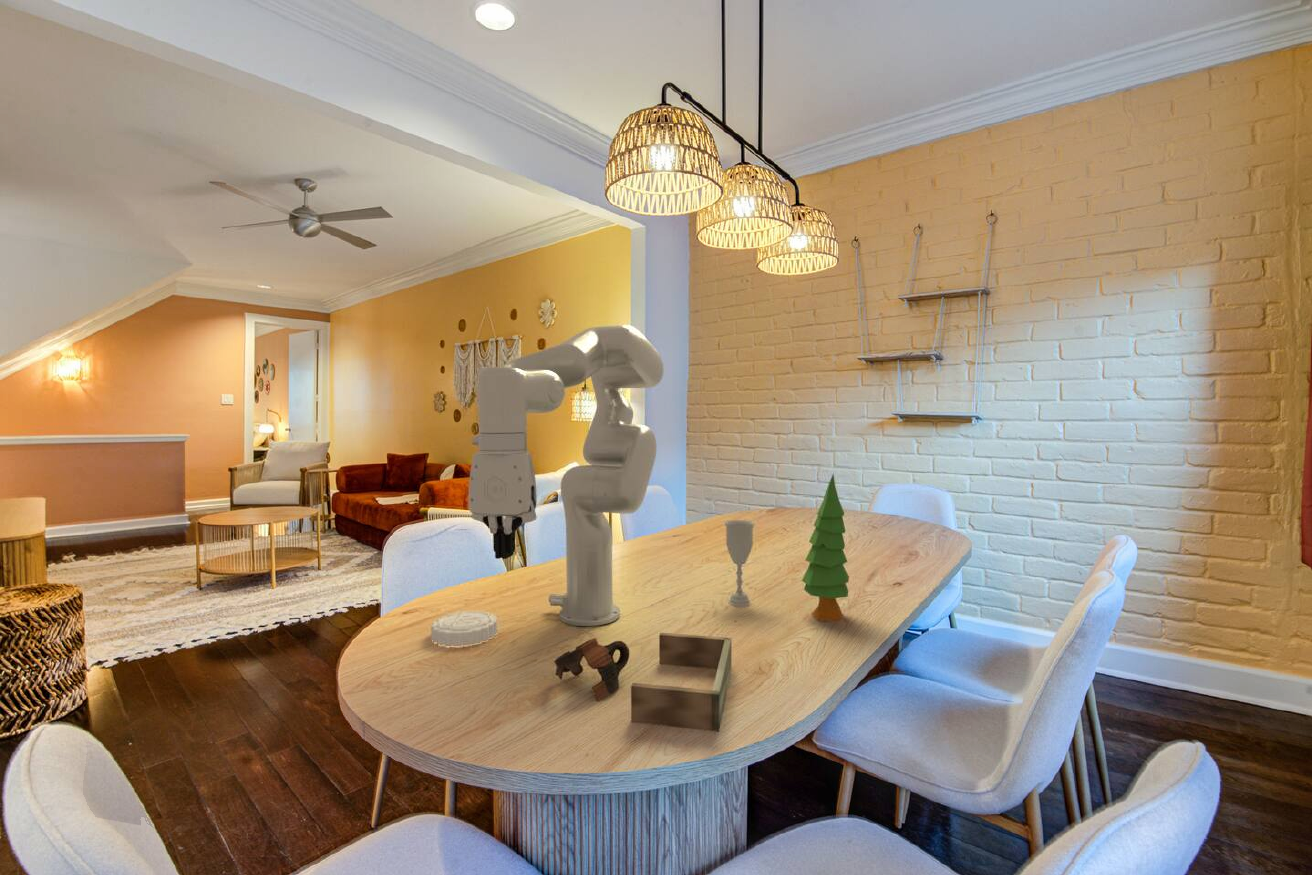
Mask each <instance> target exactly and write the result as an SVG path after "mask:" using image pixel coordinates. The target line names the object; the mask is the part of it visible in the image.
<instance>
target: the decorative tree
mask: <svg viewBox="0 0 1312 875" xmlns="http://www.w3.org/2000/svg"><path fill="white" fill-rule="evenodd" d="M830 477H831V478H830V480H829V482H828V485H827V488H826V491H825V494H824V497H823V500H822V503H821V505H820V507H819V508H818V509H819V510H818V511H817V513H816V515H817V516H816V519H815V521H814V523H813V526H814V527H815V528H814V530H813V532H812V534H811V537H810V539H809V541H808V542H809V543H810V544H812V546H811V548H810V549H809V552H808V554H807V556H806V558H805V560H804V561H805V562H807V563H809V565H808V566H807V568H806V571H805V573H804V575H803V577H802V580H801V582H803V583H805V586H804V588H803V591H804V592H806V593H808V594H809V595H810V596H813V597H817V598H818V603H817V604H818V605H817V607H816V608H815V609H814V610H813V611H812V612H811V616H812V617H813V618H815V619H816V620H817V621H823V620H824V621H823V622H841V619H842V618H843V616H844V615H843V612H842V610H841V607H840V605H839V603H838V602H837V599H839V598H841V599H842V598H848V597H849V589H848V586H847V583H849V581H850V580H849V579H850V576H849V574H848V572H847V570H846V568H845V564H846V563H848V559H847V556H846V555H845V552H844V549H846V547H845V546H846V545H845V540H844V535H843V534H845V533H846V528H845V526H846V525H845V522H844V517H843V516H845V511H844V508H843V507H842V503H841V501H840V499H839V496H838V491H837V488H836V483H835V474H834V473H832V476H830Z"/></svg>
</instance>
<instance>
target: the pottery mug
mask: <svg viewBox="0 0 1312 875" xmlns="http://www.w3.org/2000/svg"><path fill="white" fill-rule="evenodd" d="M616 651H619V657H618V660H617V661H615V660H614V654H615V653H616ZM583 658H584V659H585V661H586V663H587V665H588V667H589V668H591V669H592V670H596V671H597V672H598V674H599V675H600V677H601V680H600V681H599V682H598V683H596V684H595V685H593V686H591V691H592V693H593V694H594V697H595V700H596V702H599V701H601V700H604V699H606V697H608V696H609V695H611V694H613V693H614V692H616V691H617V690H619V688H620V684H619V676H620V673H621V671H622V670H623V669H624V668H625V667H626V665H627V664H628V662H629V660H630V659H629V658H630V648H629V646H627V643H625V642H624V641H622V640H615V641H613V642H611V643H610V644H609V643H608V644H607V645H601V644H599V643H598V640H597V638H596V637H593V638H591V639H588V640H586V641H585V642H582V643H581V644H580V645H577V646H575V649H573V650H571V651H570V650H569V651H566V652H565V653H562V654H561V655H559V656H558V657H557V658H556V659H555V660H553V662H554V664H555V665H556V669H555V676H556V677H558V678H559V680H563V675H564V673H569V672H570V673H571V674H572V675H573V676H574V677H576V676H577V677H579V675H581V674H582V673H583V672H584V667H583V666H582V664H581V662H582V660H583Z"/></svg>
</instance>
